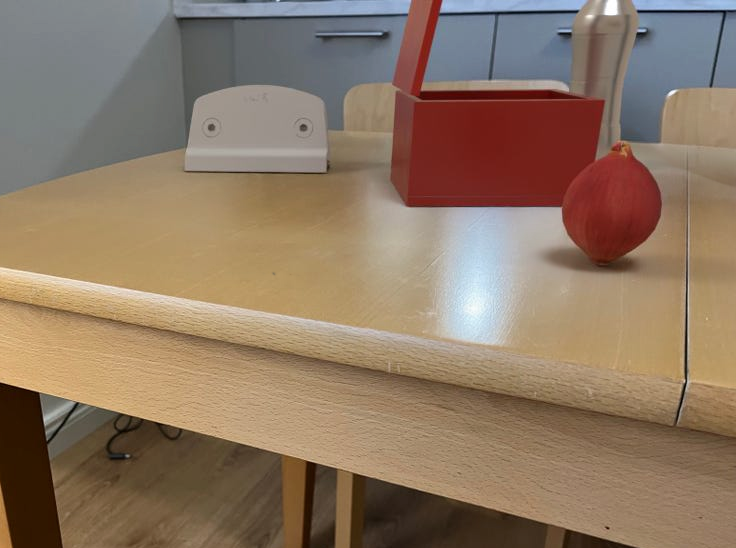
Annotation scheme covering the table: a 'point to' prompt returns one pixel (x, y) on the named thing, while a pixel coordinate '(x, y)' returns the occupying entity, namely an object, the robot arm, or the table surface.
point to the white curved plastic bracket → (258, 131)
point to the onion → (612, 206)
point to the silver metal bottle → (603, 59)
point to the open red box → (492, 146)
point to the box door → (416, 45)
